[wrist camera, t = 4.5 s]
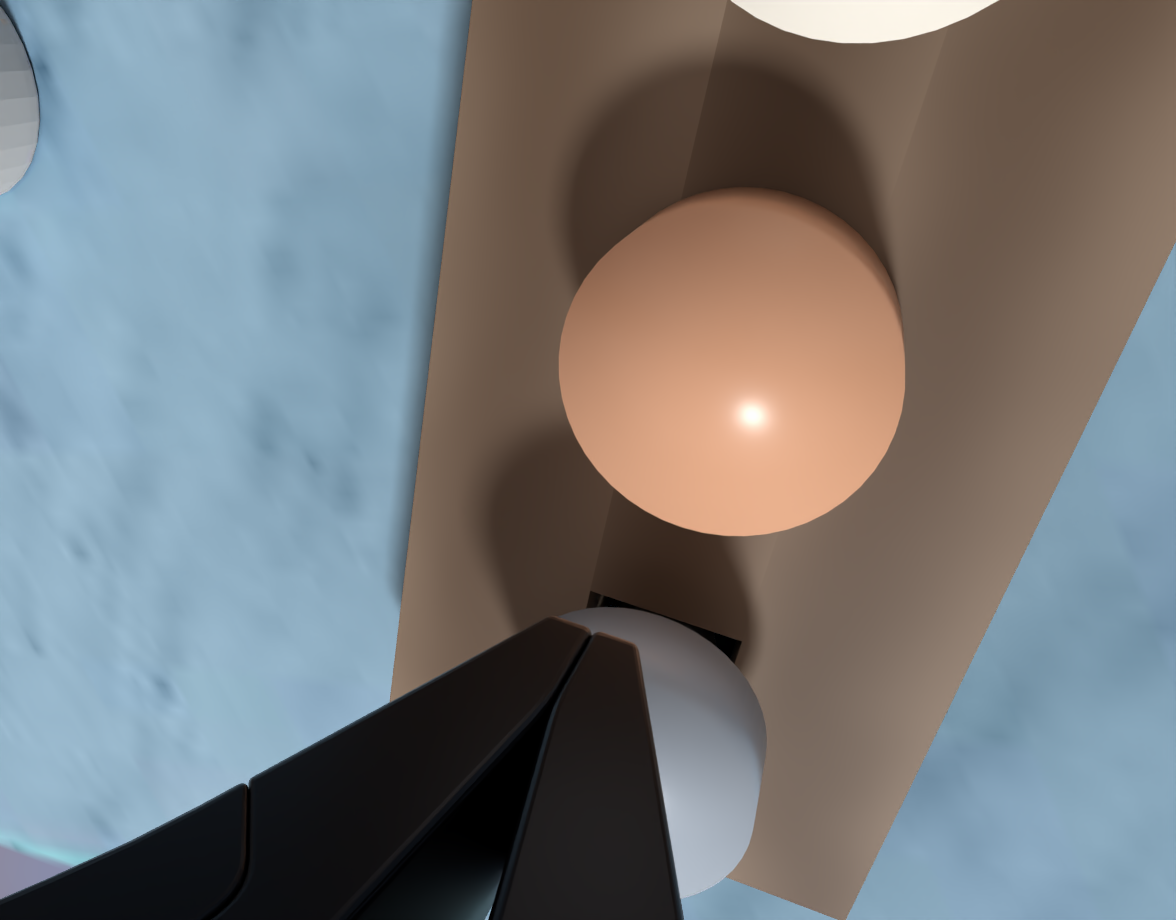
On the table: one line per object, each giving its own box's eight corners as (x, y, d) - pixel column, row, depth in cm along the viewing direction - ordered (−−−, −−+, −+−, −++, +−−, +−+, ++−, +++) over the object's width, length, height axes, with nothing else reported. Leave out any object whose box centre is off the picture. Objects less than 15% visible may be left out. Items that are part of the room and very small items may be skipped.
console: (1450, -488, 13) (1595, -622, 10) (849, 827, 25) (844, 922, 22) (615, -579, 15) (556, -709, 12) (433, 676, 27) (384, 747, 24)
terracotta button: (944, 203, 18) (961, 260, 13) (850, 460, 20) (839, 577, 16) (662, 134, 19) (592, 167, 14) (607, 387, 21) (534, 480, 17)
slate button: (813, 581, 20) (792, 732, 16) (745, 767, 23) (711, 941, 18) (570, 504, 21) (487, 626, 17) (531, 690, 24) (451, 839, 19)
